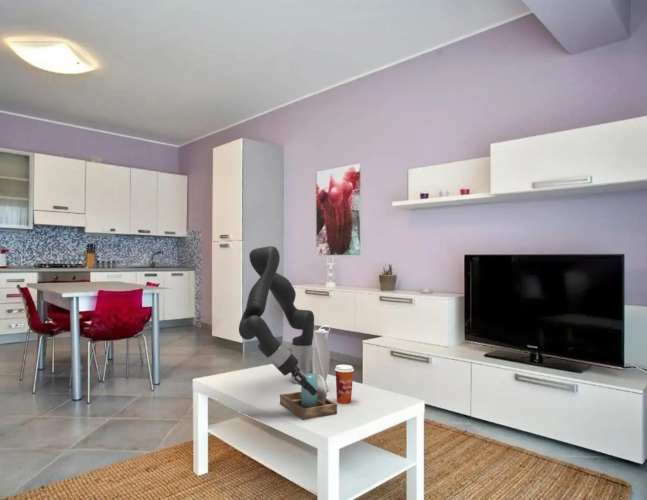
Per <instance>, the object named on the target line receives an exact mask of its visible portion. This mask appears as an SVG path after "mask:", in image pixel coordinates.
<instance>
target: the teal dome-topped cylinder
mask: <svg viewBox="0 0 647 500" xmlns="http://www.w3.org/2000/svg"><path fill="white" fill-rule="evenodd" d="M304 375H305V376H306V378H307V381H308V382H309V383H311V385H312V386H313V387H314V388H315V389H316V390H317V392H318V375H317V374H314V373H306V374H304ZM303 384H304V386H305V385H306V384H307V383H306V382H304V383H303ZM300 389H301V390H300V392H301V406H302V407H304V408H311V407H317V393H316V394H315V395H314V396H313V395H312V394H311V393H310V392H309V391H308V390H307V389H306V390H305V389H304V388H303V387H302V386H301V385H300Z"/></svg>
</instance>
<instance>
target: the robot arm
mask: <svg viewBox="0 0 647 500" xmlns="http://www.w3.org/2000/svg"><path fill="white" fill-rule="evenodd" d="M248 256H249V261H250V265H251V266H252V269H253V270H254V271H255V272H256V274H257V275H258V276H259V279H257V281H256V282H255V284H254V285H253V286H252V287H251V289H250V291H249V293H248V298H247V302H246V306H245V310H244V312H243V314H242V317H241V320H240V321H239V324H238V325H239V326H238V332H239V333H238V334H239V336H240V337H241V339H244V340H249V341H250V340H252V339H254V338H256V339H257V340H258V344H257V347H258V350H259V351H260V352H261V353H262V354H263V355H264V356H265V357H266V359H268V360H269V362H270V363H271V364H272V365H273V366H274V367H275V368H276V369H277V370H278V372H280V373H281V374H282V375H283V376H287V375H289V374H290V375H291V383H293V384H298V385H300V387H301V386H302V387H303V388H304V389H305V390H306V389H307V390H308V391H309V392H310V393H311V394H312V395H313V396H314V395H315V394H316V393H317V390H316V389H315V388H314V387H313V386H312V385H311V383H309V382H308V381H307V378H306V376H305V375H304V374H306V373H309V370H310V363H311V364H312V373H313V340H314V331H315V329H314V327H315V314H314V312H313V311H312V310H309V309H299V308H297V307H296V306H295V304H294V303H295V300H296V297H297V295H296V290H295V288H294V287H293V284H292V283H291V281H290V280H289V279H288V278H287V277H285V276H284V275H281V274H280V273H278V272H277V271H278V268H279V265H280V261H281V260H280V259H281V258H280V252H279V250H278V249H277V246H276V247H275V246H272V245H271V246H269V245H268V246H263V247H258V248H255V249H252V250H251V251H250V252H249V255H248ZM269 291H270V292H271V295H272V296H273V297H274V299H275V301H276V302H277V303H278V305H279V306H280V308H281V309H282V312H283V314H284V315H285V317H286V320H287V322H288V324H289V326H290V327H291V328H293V329H294V330H298V331H299V330H301V334H300V335H298V336H295V337H293V338H292V343H291V344H292V345H291V346H292V347H291V349H292V350H291V351H290V350H289V349H288V348H287V347H286V346H284V345H283V343H282V342H280V340H278V338H277V337H275V336H274V334H273V333H272V331H271V329H270V327H269V326H268V324H267V323H266V321H265V319H263V318H262V315H263V314H264V313H265V311H266V306H267V301H268V296H269ZM313 374H314V373H313ZM304 382H306V383H307V384H306V385H305V386H304V384H303V383H304Z"/></svg>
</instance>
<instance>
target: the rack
mask: <svg viewBox="0 0 647 500" xmlns="http://www.w3.org/2000/svg"><path fill="white" fill-rule="evenodd" d="M327 395H328V392H327V390H326V384H325V381H324V379H323V378H322V376H320V375H318V392H317V407H311V408H304V407H302V406H301V391H296V392H289V393H283V394H282V393H281V394H279V404H280V405H281V406H282V407H284V408H285V409H287V410H288V411H290V412H291V413H292V414H294V415H295V416H297V417H298V418H300V419H301V420H303V421H304V420H310V419H315V418H320V417H327V416H332V415H333V416H334V415H337V414H338V404H337V403H336V402H334V401H332V400H330V399H329V398H327V397H328V396H327Z"/></svg>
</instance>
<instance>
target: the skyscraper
mask: <svg viewBox="0 0 647 500" xmlns="http://www.w3.org/2000/svg"><path fill="white" fill-rule="evenodd" d="M323 327H328V328H329V329H328V330H326V329H324V328H323ZM331 328H332V326H331V325H328V324H327V325H321V326H320V327H319V328H318V330H315V329H314V331H313V337H314V343H313V348H312V361H313V374H317V375H320V376H322V378H323V379H324V381H325V384H326V390H327V393H328V392H329V391H330V390H329V388H328V384H327V380H328V379H327V378H328V375H329V368H330V359H331V358H330V348H329V342H328V340H329V335H330V330H331ZM309 373H312V364H311V363H310V370H309Z"/></svg>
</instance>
